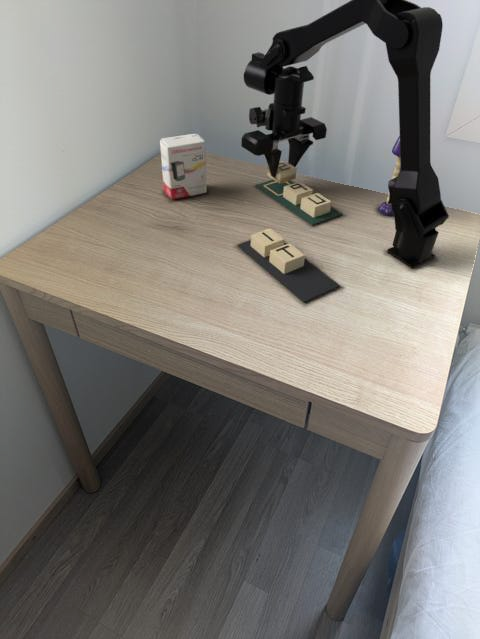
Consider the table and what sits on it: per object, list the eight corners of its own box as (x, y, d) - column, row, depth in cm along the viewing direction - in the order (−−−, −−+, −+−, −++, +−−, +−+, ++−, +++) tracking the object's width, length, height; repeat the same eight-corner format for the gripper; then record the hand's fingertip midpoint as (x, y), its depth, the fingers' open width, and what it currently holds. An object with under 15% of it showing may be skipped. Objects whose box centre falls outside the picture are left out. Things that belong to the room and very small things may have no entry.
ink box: (170, 201, 106) (166, 148, 98) (163, 191, 110) (158, 138, 102) (208, 193, 109) (206, 141, 101) (199, 183, 113) (197, 132, 105)
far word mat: (341, 215, 104) (343, 202, 101) (312, 225, 100) (314, 212, 98) (283, 177, 116) (284, 165, 114) (255, 186, 112) (256, 174, 110)
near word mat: (339, 287, 85) (342, 273, 83) (304, 303, 82) (306, 289, 80) (271, 234, 98) (272, 220, 96) (237, 246, 94) (237, 232, 92)
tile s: (295, 178, 109) (296, 167, 107) (279, 183, 107) (280, 172, 105) (283, 171, 112) (284, 160, 110) (267, 175, 110) (268, 164, 108)
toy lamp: (379, 203, 108) (397, 127, 96) (401, 207, 106) (422, 130, 95) (376, 213, 104) (394, 136, 93) (398, 218, 103) (420, 139, 92)
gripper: (298, 82, 107) (292, 151, 118) (227, 96, 99) (226, 169, 110) (333, 97, 101) (323, 169, 111) (258, 114, 93) (255, 190, 103)
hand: (281, 173), depth 109 cm, fingers closed on tile s, 4 cm apart
